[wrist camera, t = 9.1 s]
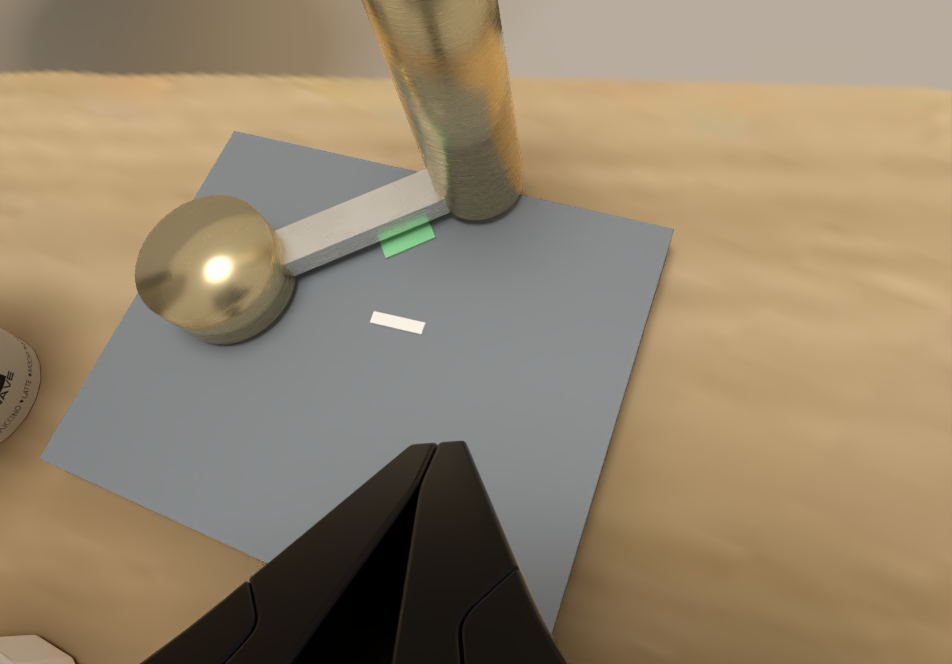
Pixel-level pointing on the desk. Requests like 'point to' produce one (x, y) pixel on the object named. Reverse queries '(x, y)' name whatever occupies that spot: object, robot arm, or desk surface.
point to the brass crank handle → (367, 216)
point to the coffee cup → (16, 382)
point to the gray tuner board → (381, 370)
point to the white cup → (30, 651)
